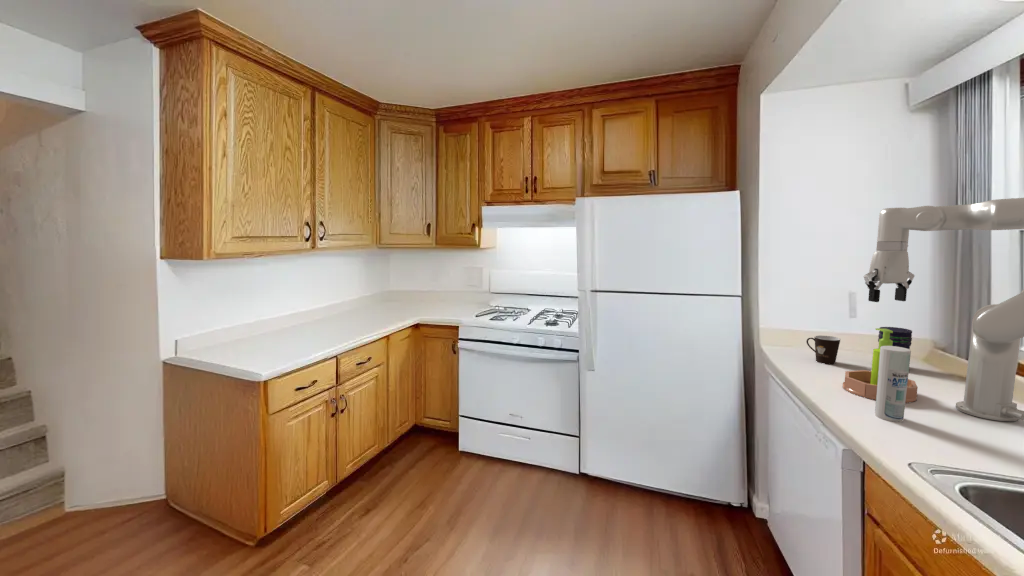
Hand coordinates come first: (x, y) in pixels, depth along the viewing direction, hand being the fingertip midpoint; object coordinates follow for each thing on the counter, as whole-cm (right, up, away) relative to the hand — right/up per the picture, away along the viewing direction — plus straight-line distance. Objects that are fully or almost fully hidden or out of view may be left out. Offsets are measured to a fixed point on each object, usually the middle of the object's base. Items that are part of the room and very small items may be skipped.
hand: (886, 301), depth 144 cm
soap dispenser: (+1, -29, +3) cm, 29 cm away
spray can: (-13, -33, -16) cm, 39 cm away
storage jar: (+27, -27, +31) cm, 49 cm away
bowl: (0, -30, +4) cm, 30 cm away
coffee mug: (+7, -26, +40) cm, 48 cm away
